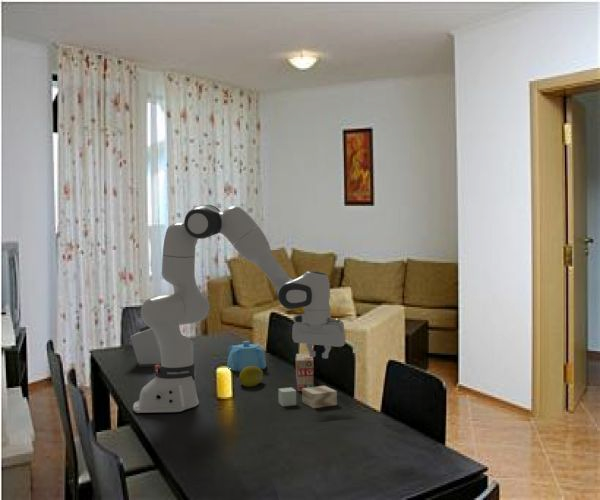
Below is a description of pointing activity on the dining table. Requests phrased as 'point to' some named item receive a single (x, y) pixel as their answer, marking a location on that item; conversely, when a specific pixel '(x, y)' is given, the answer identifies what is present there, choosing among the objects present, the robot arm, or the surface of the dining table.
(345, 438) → the dining table surface
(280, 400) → the sage cube
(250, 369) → the lemon
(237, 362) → the decorative pot
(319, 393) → the birch base block
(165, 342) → the robot arm
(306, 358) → the cardboard box
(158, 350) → the alarm clock
